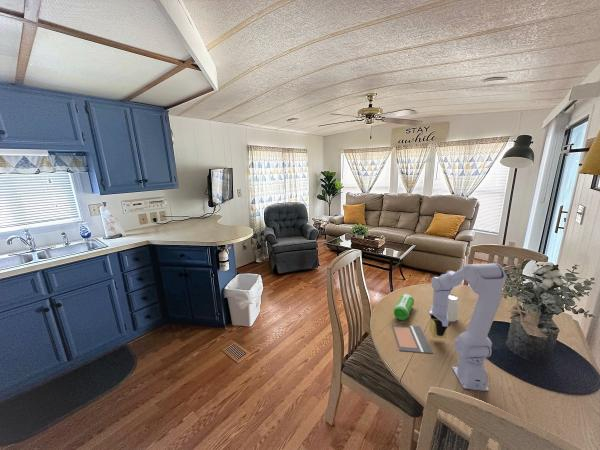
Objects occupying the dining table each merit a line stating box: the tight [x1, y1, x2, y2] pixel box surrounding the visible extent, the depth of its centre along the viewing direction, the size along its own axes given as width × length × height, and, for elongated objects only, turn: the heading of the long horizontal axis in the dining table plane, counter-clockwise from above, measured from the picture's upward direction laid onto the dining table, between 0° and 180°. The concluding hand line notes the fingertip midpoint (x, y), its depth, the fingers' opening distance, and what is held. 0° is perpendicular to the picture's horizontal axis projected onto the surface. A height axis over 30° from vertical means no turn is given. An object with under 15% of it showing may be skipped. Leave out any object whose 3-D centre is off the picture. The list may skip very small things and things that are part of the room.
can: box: [447, 293, 460, 323], centre depth 124 cm, size 6×6×12 cm
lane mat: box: [391, 324, 434, 354], centre depth 111 cm, size 18×13×1 cm
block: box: [429, 317, 448, 339], centre depth 108 cm, size 5×5×6 cm
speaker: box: [393, 293, 415, 321], centre depth 131 cm, size 18×7×8 cm, turn 145°
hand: (437, 331), depth 109 cm, fingers closed on block, 5 cm apart
